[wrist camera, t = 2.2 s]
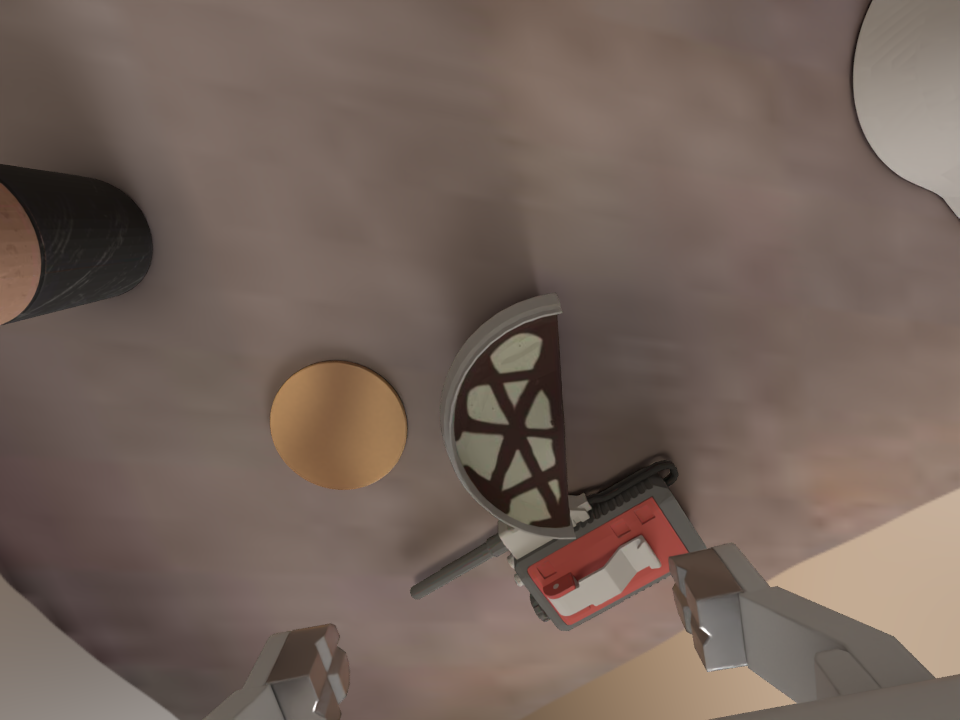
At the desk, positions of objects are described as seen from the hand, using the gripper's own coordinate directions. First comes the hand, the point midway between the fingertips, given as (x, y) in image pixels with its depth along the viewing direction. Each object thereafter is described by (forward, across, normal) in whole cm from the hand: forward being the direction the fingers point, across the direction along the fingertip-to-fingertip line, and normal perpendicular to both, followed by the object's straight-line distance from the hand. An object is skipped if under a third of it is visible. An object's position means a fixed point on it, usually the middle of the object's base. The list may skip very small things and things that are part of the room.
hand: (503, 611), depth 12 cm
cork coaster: (+22, +10, +2) cm, 24 cm away
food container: (+22, 0, +1) cm, 22 cm away
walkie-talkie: (+22, -2, +14) cm, 26 cm away
